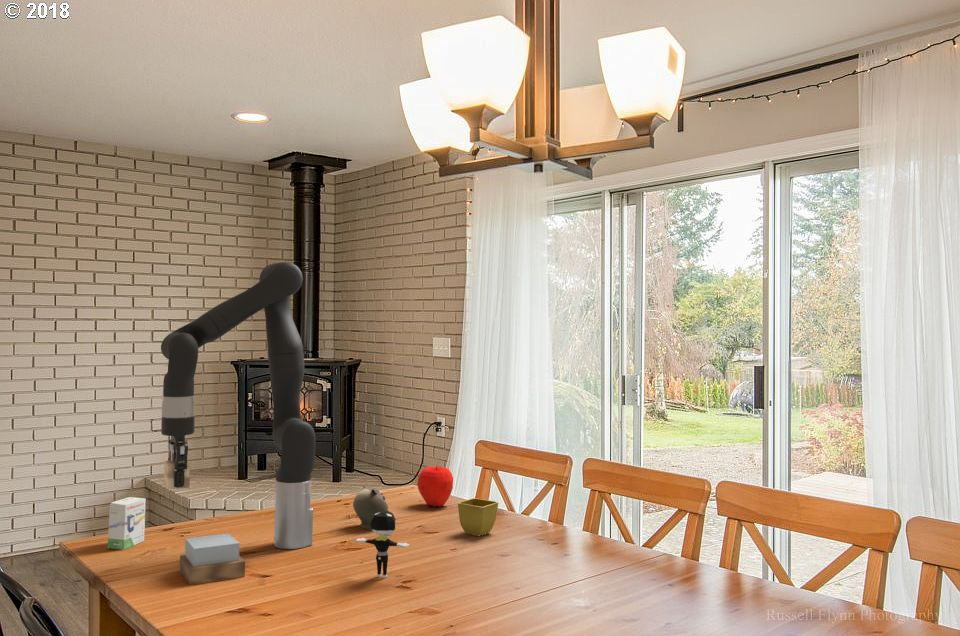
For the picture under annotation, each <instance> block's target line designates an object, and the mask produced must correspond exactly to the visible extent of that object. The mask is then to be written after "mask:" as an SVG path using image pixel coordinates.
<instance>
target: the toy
mask: <svg viewBox="0 0 960 636" xmlns="http://www.w3.org/2000/svg"><path fill="white" fill-rule="evenodd" d="M396 521H397V520H396V517H395V515H394V513H393V512H392V511H389V510H388V511H383V512H379V513H376V514H375V515H374V516H373V518H372V521H371V529H372V530H371V531H372V532H373V533H375V534H377V535H378V537H376V538H372V539H370V538H369V539H366V538H365V537H362V538H361V537H360V538H357V539H356V540H355V541H356V542H357V543H361V544H362V543H365V544H369V545H373V546H374V547H375V549H376V550H377V552H376V555H375V560H376V571H377V573H376V574H377V577H376V578H381V577H382V578H383V579H386V578H387V577H388V573H387V572H388V564H389V563H388V562H389V552H388V550H389V548H390V547H399V548H407V547H409V546H410V544H409V543H408V542H396V541H393V540H391V539H390V538H388V537H392V535H393V534H394V532H395V530H396Z"/></svg>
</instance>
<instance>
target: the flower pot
mask: <svg viewBox="0 0 960 636" xmlns="http://www.w3.org/2000/svg"><path fill="white" fill-rule="evenodd" d="M498 507H499V502H498V501H495V500H489V499H481V498H476V497H472V498H469V499H465V500H463V501H459V502H457V508H458V519H459V523H460V526H461V528H462V530H463V532H464V533H465V534H466V533H469V534H468V535H471V534H474V535H473V536H476V535H482V536H484V535H483V534H485V533H487V534H489V533H490V532H491V530H492V529H493V527H494V525H495V523H496V519H497V514H498V509H499V508H498ZM488 532H489V533H488ZM485 535H486V534H485Z"/></svg>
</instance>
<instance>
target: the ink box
mask: <svg viewBox="0 0 960 636" xmlns="http://www.w3.org/2000/svg"><path fill="white" fill-rule="evenodd" d="M146 501H147V498H143V497H142V498H141V497H137V496H136V497H135V496H128V497H125V498H121V499H118V500H115V501H112V502H111V503H110V504H109V512H108V513H109V514H108V515H109V516H108V518H109V519H108V531H107V533H108V534H107V549H110V548H111V550H120V551H121V550H123V551H124V550H126V549H129V548H131V547H133V546H136V545H139V544H140V543H142V542H145V524H146Z"/></svg>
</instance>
